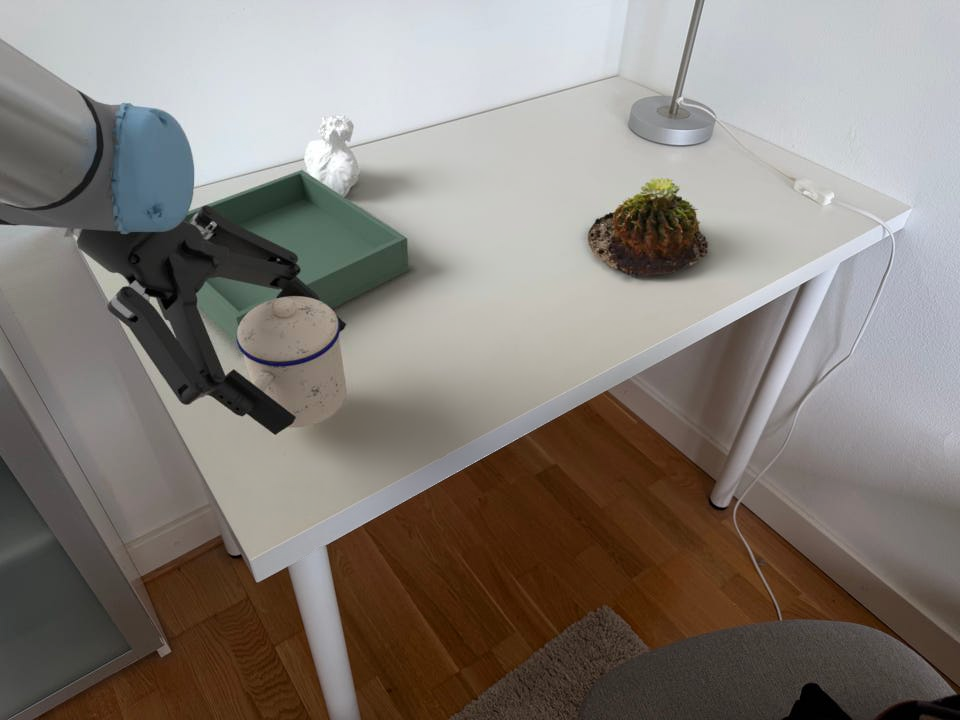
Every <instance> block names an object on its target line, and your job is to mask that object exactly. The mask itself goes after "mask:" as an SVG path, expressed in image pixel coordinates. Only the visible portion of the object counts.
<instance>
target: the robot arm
mask: <svg viewBox="0 0 960 720" xmlns="http://www.w3.org/2000/svg"><path fill="white" fill-rule="evenodd" d="M194 189H195V162H194V156H193V152H192V148H191V144H190V142H189V138H188V136H187V135H186V132H185V130H184V129H183V127H182V126H181V123H180V122H178V120H177V119H176V118H175V117H174V116H173V115H172V114H171V113H170V112H169V113H168V111H166V110H163V109H160V108H155V107H146V106H138V105H133V104H132V103H131V102H121V104H107V103H104V102H99V101H96V100H95V99H93V98H92V97H91V96H88V94H85V93H84V92H83V91H81V90H79V89H78V88H76V87H75V86H72V85H71V84H69V83H68V82H66V81H65V80H64V79H62V78H61V77H59V76H57V75H56V74H55V73H53V72H52V71H50V70H48V69H47V68H46V67H44V66H43V65H41V64H40V63H38V62H37V61H35V60H34V59H32V58H31V57H29V56H28V55H27V54H25V53H23V52H22V51H20V50H19V49H17V48H16V47H14V46H13V45H11V44H9V43H8V42H7V41H6V40H4V39H2V38H1V37H0V226H15V227H17V226H30V227H46V228H52V229H53V230H55V231H56V232H57V233H59V234H60V235H61V236H63V237H64V238H71V237H73V236H76V237H77V239H76V242H75V243H76V244H77V248H78V249H79V250H80V251H82V252H83V253H84V254H85V255H87V256H88V257H89V258H91V259H92V260H93V261H94V262H96V263H97V264H98V265H99V266H101V267H102V268H104V269H105V270H106V271H108V272H109V273H111V274H116V273H117V274H119V275H121V276H122V277H123V278H124V279H125V280H126V282H127V283H128V285H126V286H125V285H124V286H123V287H121V288H120V289H119V290H118V291H117V293H116V294H115V295H114V296H113V297H112V298H111V299H110V301H109V302H108V303H107V306H106V308H107V310H108V311H109V312H110V313H111V314H112V315H113V316H114V317H116V319H118V320H119V321H121V322H122V323H123V324H124V325H125V326H126V327H128V328H129V330H130V331H131V332H132V334H133V336H134V337H135V338H136V340H137V341H138V343H139V345H140V346H141V347H142V349H143V350H144V351H145V353H146V355H147V356H148V357H149V359H150V360H151V362H152V363H153V365H154V366H155V367H156V369H157V370H158V372H159V373H160V375H161V377H162V378H163V379H164V380H165V382H166V384H167V385H168V387H169V388H170V390H171V391H172V392H173V394H174V395H175V397H176V398H177V400H178V401H179V402H180V403H181V404H183V405H185V406H188V405H191V404H192V403H193V402H195V401H197V400H199V399H200V398H201V399H202V398H204V397H206V396H209V397H211V398H213V399H215V401H217V402H218V403H220V404H221V405H223V406H224V407H225V408H227V409H228V410H229V411H231V412H232V413H233V414H235V415H237V416H239V417H244V416H245V415H247V416H249V417H250V418H251V419H252V420H254V421H255V420H256V421H255V422H257V423H258V424H259V425H261V426H262V427H264V428H265V429H266V430H267V431H269V432H270V433H271V434H273V435H274V436H276V435H278V434H279V433H281V432H282V431H284V430H285V429H286V428H289V427H288V426H290V425H291V424H293V422H294V420H295V418H296V417H295V416H294V415H293V414H291V413H290V412H289V411H288V410H286V409H285V408H284V407H282V406H281V405H280V404H278V403H277V402H276V401H275V400H273V399H272V398H271V397H269V396H268V395H267V394H265V393H264V392H263V391H262V390H260V389H259V388H258V387H256V386H255V385H254V384H252V383H251V381H250V379H248V378H246V377H245V376H244V375H242V374H241V373H240V372H238V371H237V370H236V369H234V368H232V370H231V371H229V372H227V374H225V372H224V371H225V370H224V369H223V366H222V364H221V362H220V361H221V360H220V359H219V357H218V354H217V352H216V350H215V347H214V344H213V341H212V340H211V338H210V335H209V332H208V331H207V328H206V326H205V323H204V320H203V318H202V316H201V314H200V311H199V309H198V308H199V307H198V306H197V296H196V293H197V292H198V291H199V290H200V289H201V288H202V287H203V285H204V283H205V282H206V281H207V280H208V279H209V278H216V277H221V278H226V279H230V280H235V281H240V282H245V283H249V284H254V285H259V286H263V287H268V288H273V289H277V290H280V289H282V291H281V292H280V293H279V294H278V296H277V297H276V298H281V297H289V296H302V297H308V298H313V299H316V300H318V301H319V299H320V298H319V297H318V295H317V294H316V293H315V292H314V291H312V290H311V289H310V288H309V287H308V286H307V285H306V284H304V283H303V282H302V281H301V280H300V279H299V278H298V277H297V275H298V274H299V273H300V272H301V269H300V267H299V265H297V264H296V262H297V261H298V257H297V255H296V254H295V253H293V252H292V251H290V250H287V249H285V248H283V247H281V246H279V245H277V244H275V243H273V242H271V241H269V240H267V239H265V238H263V237H261V236H259V235H256V234H254V233H252V232H250V231H248V230H246V229H244V228H242V227H240V226H238V225H236V224H234V223H232V222H230V221H228V220H226V219H225V218H224V217H222V216H221V215H220V214H219V213H217V212H216V211H215V210H214V209H212V208H211V207H210V206H207V204H205V205H201V207H202V208H201V209H200V210H199V211H198V212H197V213H196V214H195V215H194V217H193V218H192V219H191V220H190V221H189V223H188V222H186V221H184V218H185V217H186V215H187V213H188V211H190V208H191V205H192V202H193V198H194ZM204 239H206V240H207V241H209V242H210V243H212V244H210V243H206V242H205V240H204ZM277 259H280V260H279V261H278V260H277ZM151 298H155V300H156V302H157V305H158V307H159V309H160V311H161V314H162V315H161V314H160V313H159V311H158V310H157V309H156V307H154V305H153V304H152V303H151V302H150V299H151ZM336 316H337V317H338V319H339V322H340V333H341V332H342V331H344V330H345V328H346V326H347V323H346V322H345V321H344V320H343V319H341V318H340V316H338V315H337V314H336ZM166 321H168V322H169V323H170V327H171V328H170V327H169V326H168V324H167V323H166ZM172 331H173V332H172Z"/></svg>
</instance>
